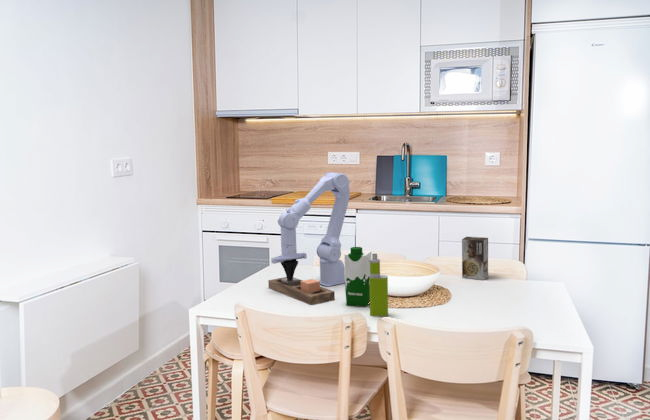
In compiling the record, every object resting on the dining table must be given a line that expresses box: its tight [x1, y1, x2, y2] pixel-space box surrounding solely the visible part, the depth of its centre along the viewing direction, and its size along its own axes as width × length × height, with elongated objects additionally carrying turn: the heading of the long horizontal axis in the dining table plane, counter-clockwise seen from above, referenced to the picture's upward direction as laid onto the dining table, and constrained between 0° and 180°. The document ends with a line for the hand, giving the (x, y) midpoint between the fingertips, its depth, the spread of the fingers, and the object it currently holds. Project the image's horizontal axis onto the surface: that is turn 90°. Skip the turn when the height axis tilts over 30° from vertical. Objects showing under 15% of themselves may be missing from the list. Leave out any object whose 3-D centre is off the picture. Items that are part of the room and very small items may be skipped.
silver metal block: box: [281, 276, 299, 286], centre depth 216 cm, size 5×5×3 cm
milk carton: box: [344, 246, 372, 308], centre depth 195 cm, size 9×9×20 cm
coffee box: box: [461, 236, 489, 281], centre depth 226 cm, size 9×6×16 cm
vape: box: [369, 253, 389, 317], centre depth 182 cm, size 4×6×20 cm, turn 81°
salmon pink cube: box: [301, 278, 321, 294], centre depth 204 cm, size 5×5×3 cm
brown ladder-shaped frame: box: [268, 276, 336, 306], centre depth 210 cm, size 10×30×3 cm, turn 35°
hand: (289, 279), depth 216 cm, fingers closed, pressing on silver metal block
